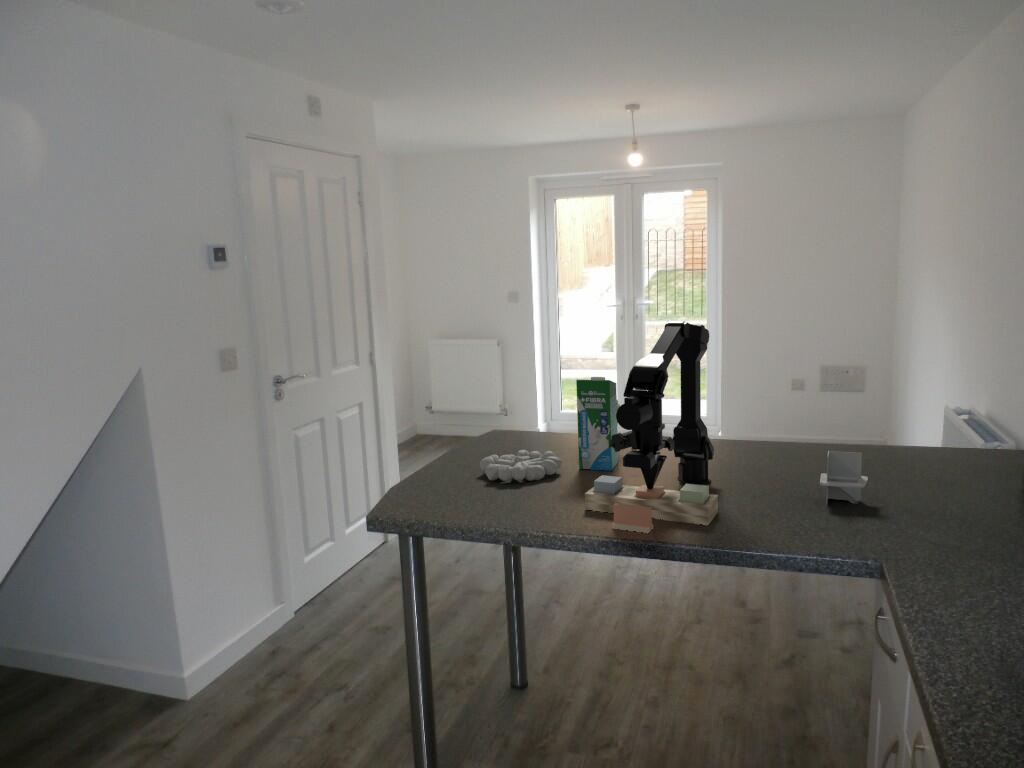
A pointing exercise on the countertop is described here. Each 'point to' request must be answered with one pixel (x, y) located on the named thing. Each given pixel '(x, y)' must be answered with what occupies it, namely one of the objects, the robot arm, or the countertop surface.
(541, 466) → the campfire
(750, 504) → the countertop surface
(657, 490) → the terracotta button
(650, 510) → the terracotta sign
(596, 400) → the milk carton
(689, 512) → the button panel
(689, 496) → the sage button
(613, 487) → the slate button
